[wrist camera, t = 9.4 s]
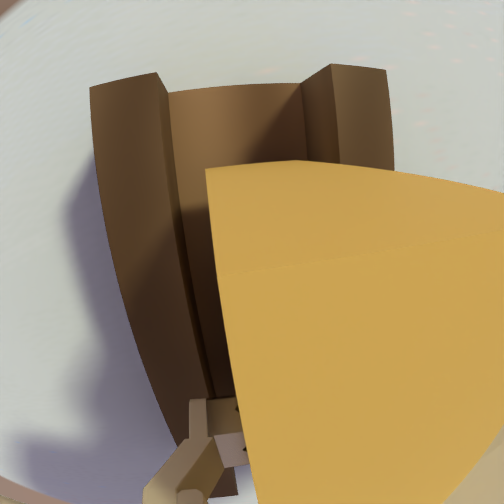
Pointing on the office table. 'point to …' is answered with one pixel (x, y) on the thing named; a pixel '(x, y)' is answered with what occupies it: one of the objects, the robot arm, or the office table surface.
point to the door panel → (360, 328)
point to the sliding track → (197, 207)
